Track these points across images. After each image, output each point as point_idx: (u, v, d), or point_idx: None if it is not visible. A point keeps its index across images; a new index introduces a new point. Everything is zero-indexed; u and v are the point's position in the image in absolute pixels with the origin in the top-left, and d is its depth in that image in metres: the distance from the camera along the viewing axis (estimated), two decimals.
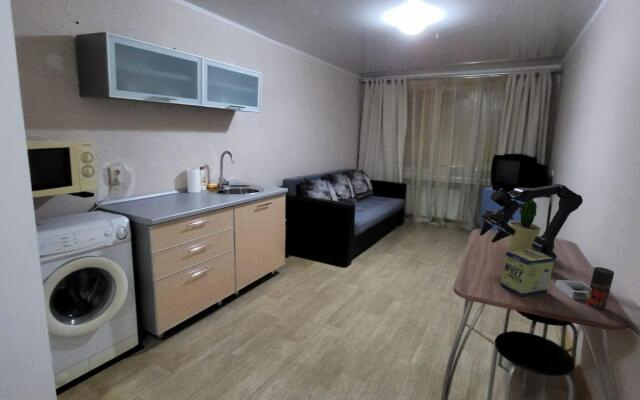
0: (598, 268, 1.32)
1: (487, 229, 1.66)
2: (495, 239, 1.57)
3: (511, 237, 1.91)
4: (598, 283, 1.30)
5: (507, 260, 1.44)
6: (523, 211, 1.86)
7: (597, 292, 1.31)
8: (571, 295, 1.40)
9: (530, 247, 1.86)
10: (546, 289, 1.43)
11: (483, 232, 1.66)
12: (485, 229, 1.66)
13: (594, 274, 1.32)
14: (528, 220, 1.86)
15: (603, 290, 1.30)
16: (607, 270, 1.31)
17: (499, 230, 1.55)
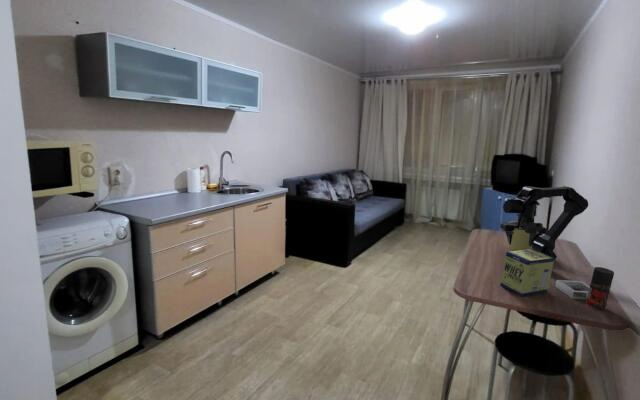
0: (598, 268, 1.32)
1: None
2: None
3: None
4: (598, 283, 1.30)
5: (507, 260, 1.44)
6: None
7: (597, 292, 1.31)
8: (571, 295, 1.40)
9: (530, 247, 1.86)
10: (546, 289, 1.43)
11: None
12: None
13: (594, 274, 1.32)
14: None
15: (603, 290, 1.30)
16: (607, 270, 1.31)
17: (538, 235, 1.60)
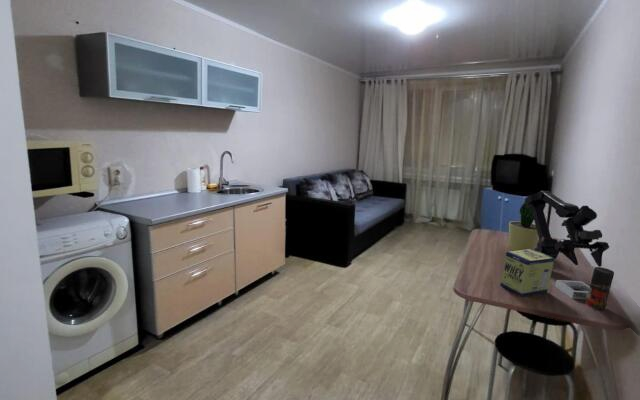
0: (598, 268, 1.32)
1: None
2: None
3: (511, 237, 1.91)
4: (598, 283, 1.30)
5: (507, 260, 1.44)
6: (523, 211, 1.86)
7: (597, 292, 1.31)
8: (571, 295, 1.40)
9: (530, 247, 1.86)
10: (546, 289, 1.43)
11: None
12: None
13: (594, 274, 1.32)
14: (528, 220, 1.86)
15: (603, 290, 1.30)
16: (607, 270, 1.31)
17: (602, 250, 1.40)
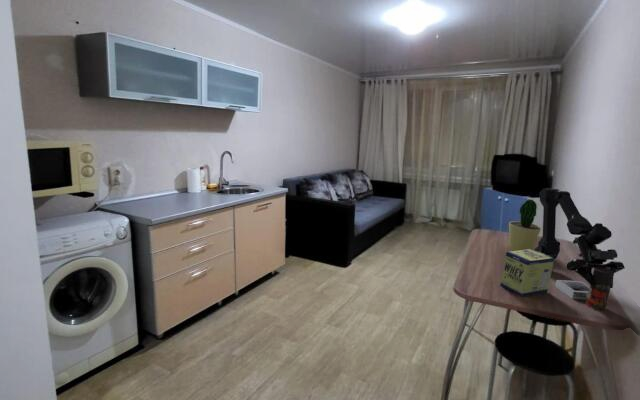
0: (598, 268, 1.32)
1: None
2: None
3: (511, 237, 1.91)
4: (598, 283, 1.30)
5: (507, 260, 1.44)
6: (523, 211, 1.86)
7: (597, 292, 1.31)
8: (571, 295, 1.40)
9: (530, 247, 1.86)
10: (546, 289, 1.43)
11: None
12: None
13: (594, 274, 1.32)
14: (528, 220, 1.86)
15: (603, 290, 1.30)
16: (607, 270, 1.31)
17: (613, 270, 1.32)
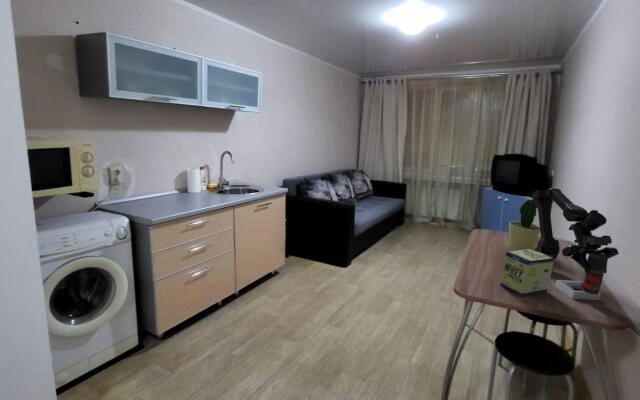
0: (593, 254, 1.35)
1: None
2: None
3: (511, 237, 1.91)
4: (592, 268, 1.33)
5: (507, 260, 1.44)
6: (523, 211, 1.86)
7: (591, 276, 1.34)
8: (571, 295, 1.40)
9: (530, 247, 1.86)
10: (546, 289, 1.43)
11: None
12: None
13: (589, 259, 1.35)
14: (528, 220, 1.86)
15: (597, 275, 1.33)
16: (601, 256, 1.34)
17: (607, 256, 1.35)
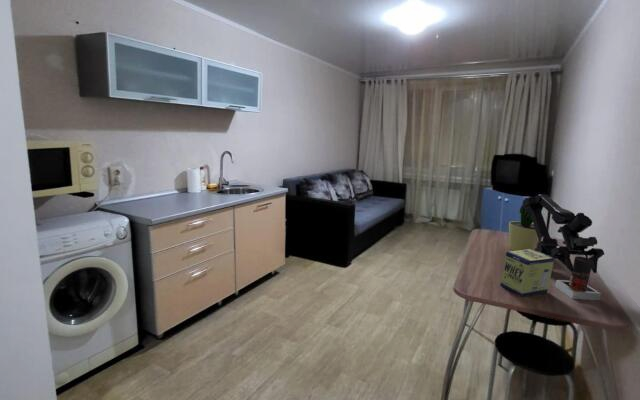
0: (578, 257, 1.43)
1: None
2: None
3: (511, 237, 1.91)
4: (578, 271, 1.41)
5: (507, 260, 1.44)
6: (523, 211, 1.86)
7: (578, 279, 1.41)
8: (571, 295, 1.40)
9: (530, 247, 1.86)
10: (546, 289, 1.43)
11: None
12: None
13: (575, 263, 1.42)
14: (528, 220, 1.86)
15: (583, 277, 1.40)
16: (586, 259, 1.41)
17: (597, 257, 1.42)
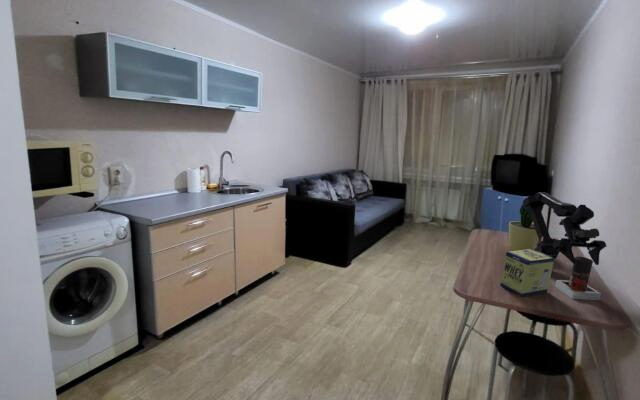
0: (578, 257, 1.43)
1: None
2: None
3: (511, 237, 1.91)
4: (578, 271, 1.41)
5: (507, 260, 1.44)
6: (523, 211, 1.86)
7: (578, 279, 1.41)
8: (571, 295, 1.40)
9: (530, 247, 1.86)
10: (546, 289, 1.43)
11: None
12: None
13: (575, 263, 1.42)
14: (528, 220, 1.86)
15: (583, 277, 1.40)
16: (586, 259, 1.41)
17: (599, 249, 1.41)
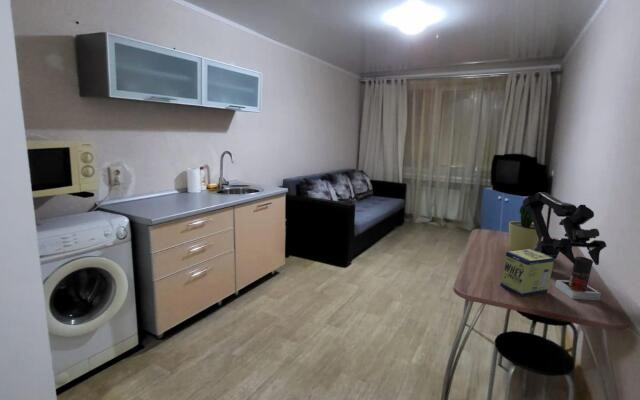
0: (578, 257, 1.43)
1: None
2: None
3: (511, 237, 1.91)
4: (578, 271, 1.41)
5: (507, 260, 1.44)
6: (523, 211, 1.86)
7: (578, 279, 1.41)
8: (571, 295, 1.40)
9: (530, 247, 1.86)
10: (546, 289, 1.43)
11: None
12: None
13: (575, 263, 1.42)
14: (528, 220, 1.86)
15: (583, 277, 1.40)
16: (586, 259, 1.41)
17: (599, 249, 1.41)
